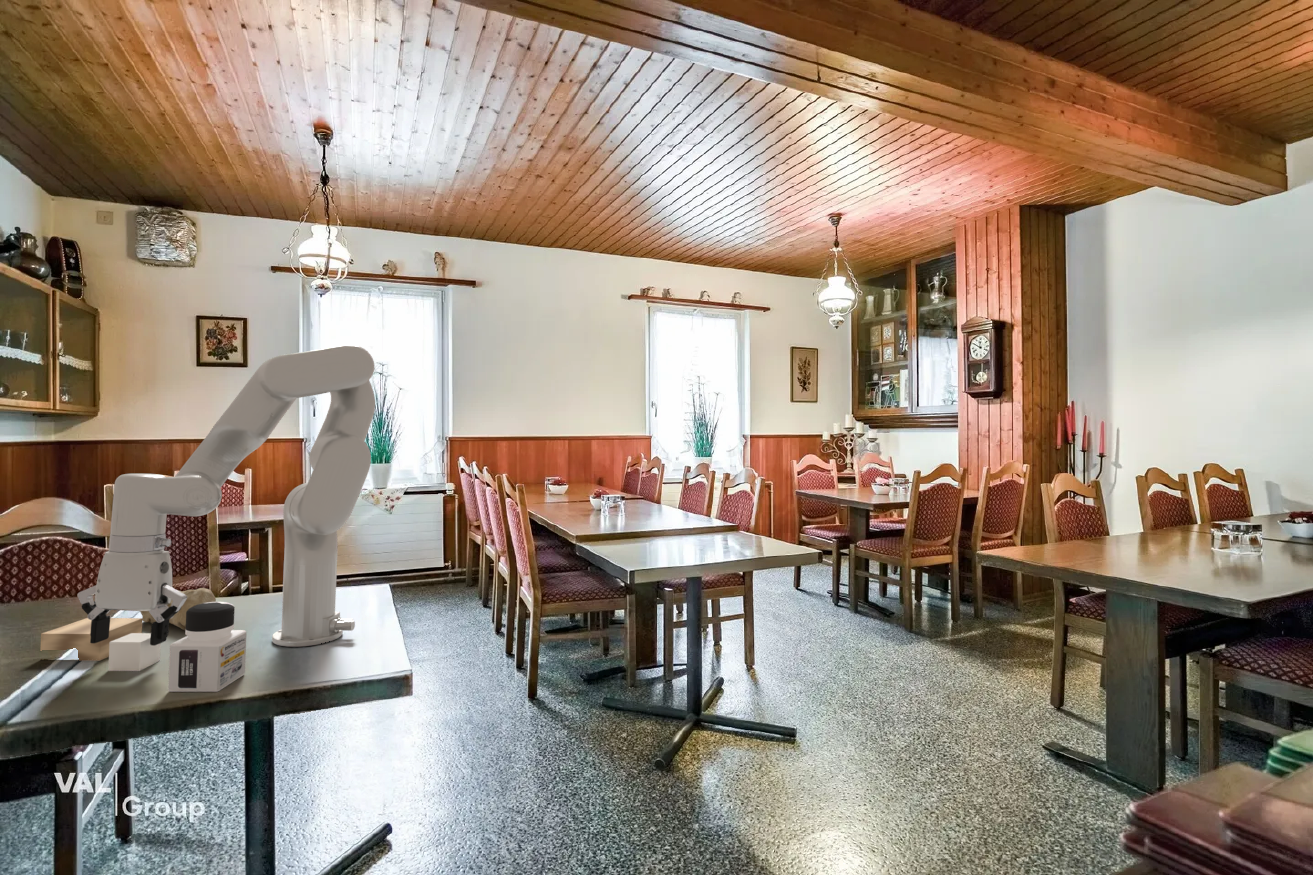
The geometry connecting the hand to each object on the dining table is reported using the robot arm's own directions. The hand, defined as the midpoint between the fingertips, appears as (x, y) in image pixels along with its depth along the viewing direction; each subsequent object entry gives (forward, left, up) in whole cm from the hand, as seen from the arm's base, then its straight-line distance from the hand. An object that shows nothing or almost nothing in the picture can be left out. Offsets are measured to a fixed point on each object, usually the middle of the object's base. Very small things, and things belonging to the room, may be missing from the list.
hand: (128, 642), depth 110 cm
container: (-18, +7, -5) cm, 20 cm away
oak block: (+12, -8, -5) cm, 15 cm away
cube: (-1, -1, -4) cm, 4 cm away
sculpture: (+8, -25, -5) cm, 26 cm away
